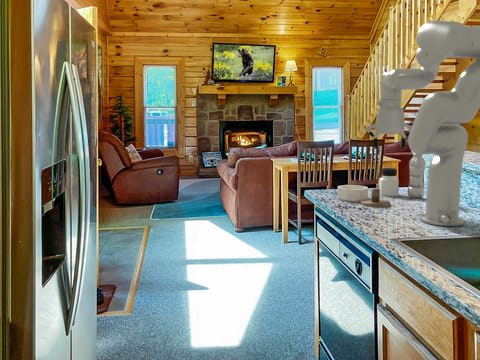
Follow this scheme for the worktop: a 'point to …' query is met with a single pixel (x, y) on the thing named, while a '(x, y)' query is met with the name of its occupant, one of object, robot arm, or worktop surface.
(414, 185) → the plastic bottle
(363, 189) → the bowl
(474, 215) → the worktop surface
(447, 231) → the worktop surface
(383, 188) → the medicine bottle
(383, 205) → the lid
